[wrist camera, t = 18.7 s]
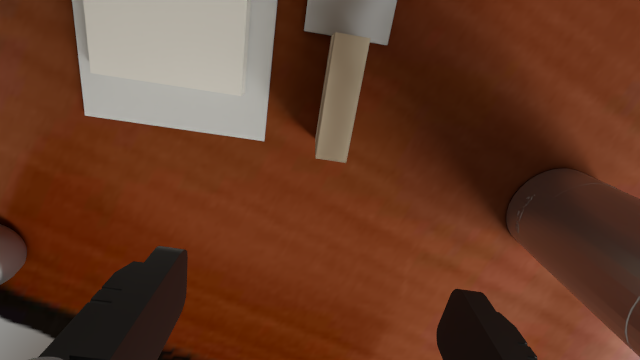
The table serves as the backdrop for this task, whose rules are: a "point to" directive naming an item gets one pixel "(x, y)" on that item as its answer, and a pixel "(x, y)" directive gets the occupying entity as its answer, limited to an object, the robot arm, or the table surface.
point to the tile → (171, 42)
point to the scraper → (345, 64)
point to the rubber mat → (186, 103)
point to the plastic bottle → (10, 253)
